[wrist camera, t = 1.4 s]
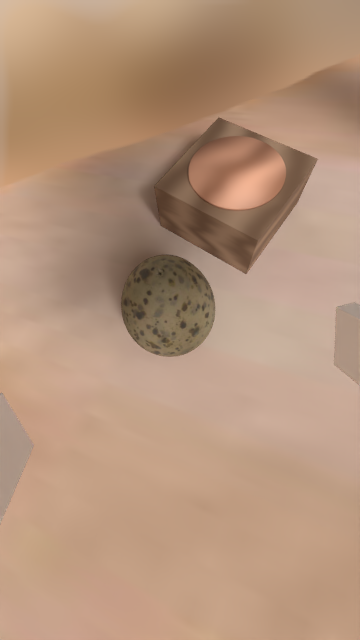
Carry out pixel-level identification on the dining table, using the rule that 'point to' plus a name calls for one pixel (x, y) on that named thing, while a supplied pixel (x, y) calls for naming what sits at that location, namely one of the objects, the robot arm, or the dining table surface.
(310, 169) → the pedestal
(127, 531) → the dining table surface
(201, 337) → the decorative egg
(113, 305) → the dining table surface
